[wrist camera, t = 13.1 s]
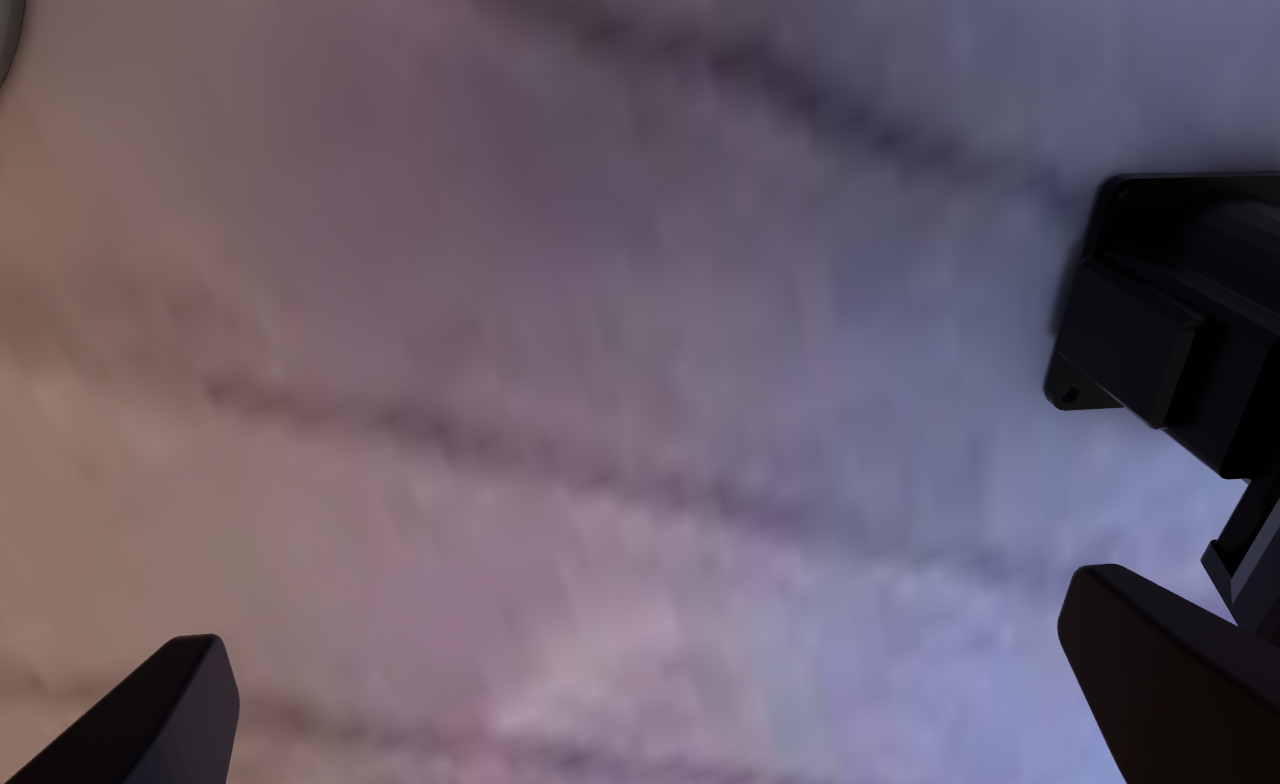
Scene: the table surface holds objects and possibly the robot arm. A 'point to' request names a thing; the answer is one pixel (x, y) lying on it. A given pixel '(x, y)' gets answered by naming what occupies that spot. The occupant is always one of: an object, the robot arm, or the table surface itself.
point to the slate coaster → (9, 32)
